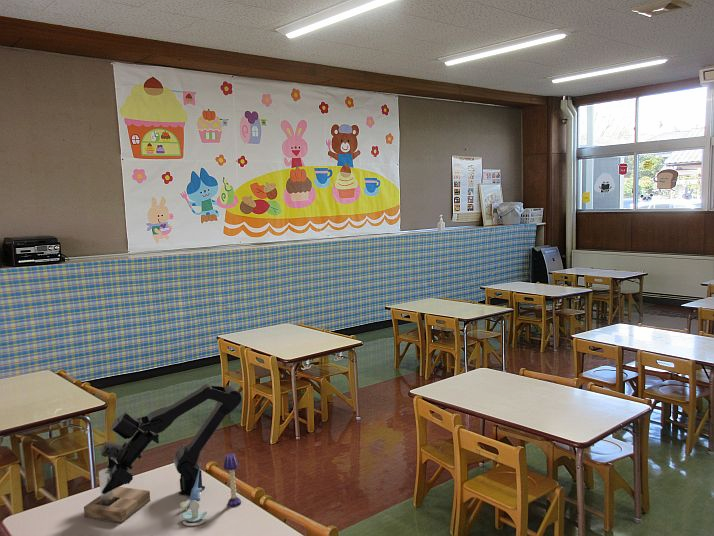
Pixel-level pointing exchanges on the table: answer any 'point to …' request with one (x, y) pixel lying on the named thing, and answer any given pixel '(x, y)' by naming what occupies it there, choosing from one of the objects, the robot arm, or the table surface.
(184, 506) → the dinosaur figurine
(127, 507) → the pocket board
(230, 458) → the toy lamp
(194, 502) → the pacifier
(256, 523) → the table surface
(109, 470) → the aluminium peg
